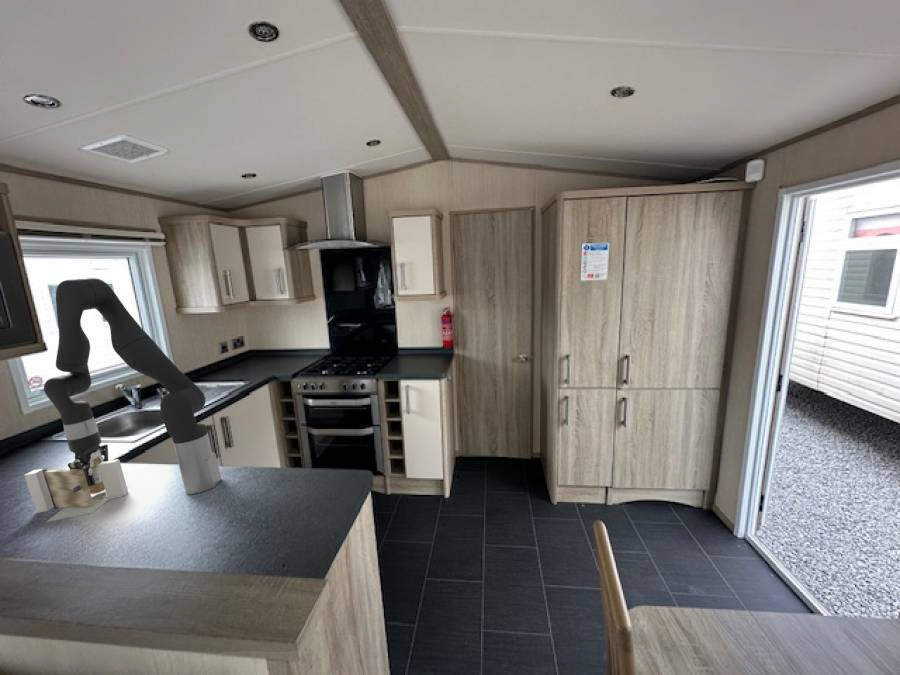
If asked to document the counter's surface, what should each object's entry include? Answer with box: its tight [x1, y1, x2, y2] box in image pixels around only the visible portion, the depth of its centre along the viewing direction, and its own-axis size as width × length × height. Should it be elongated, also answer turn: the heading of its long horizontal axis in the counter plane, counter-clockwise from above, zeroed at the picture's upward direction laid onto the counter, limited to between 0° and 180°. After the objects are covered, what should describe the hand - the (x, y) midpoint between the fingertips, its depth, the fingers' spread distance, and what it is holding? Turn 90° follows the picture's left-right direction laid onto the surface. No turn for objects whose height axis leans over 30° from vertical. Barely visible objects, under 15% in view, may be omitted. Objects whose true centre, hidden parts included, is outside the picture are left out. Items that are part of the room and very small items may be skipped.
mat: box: [46, 497, 112, 523], centre depth 116 cm, size 12×8×1 cm, turn 101°
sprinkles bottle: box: [82, 452, 105, 495], centre depth 123 cm, size 5×5×13 cm
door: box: [42, 468, 94, 509], centre depth 116 cm, size 14×2×13 cm, turn 81°
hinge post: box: [24, 468, 54, 514], centre depth 117 cm, size 3×3×13 cm
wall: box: [98, 458, 129, 499], centre depth 121 cm, size 5×2×12 cm, turn 101°
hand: (96, 481), depth 124 cm, fingers closed on sprinkles bottle, 4 cm apart
